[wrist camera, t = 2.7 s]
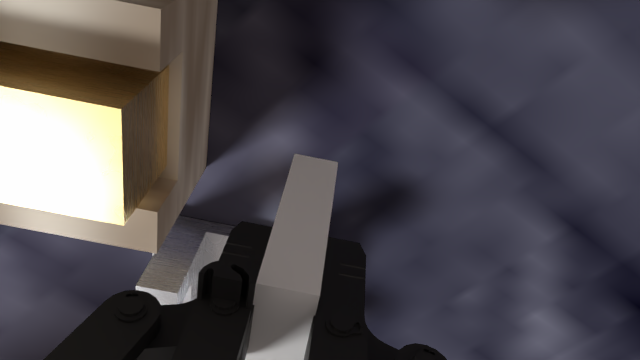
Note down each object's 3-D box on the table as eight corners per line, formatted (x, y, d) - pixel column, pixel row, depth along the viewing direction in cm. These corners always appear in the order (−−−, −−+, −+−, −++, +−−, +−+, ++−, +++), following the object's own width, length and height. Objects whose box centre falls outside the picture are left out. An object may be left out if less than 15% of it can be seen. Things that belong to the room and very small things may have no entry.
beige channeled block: (-90, 110, 28) (-229, 180, 21) (-141, -98, 23) (-343, -90, 16) (206, 167, 28) (156, 253, 22) (219, -27, 23) (161, 9, 17)
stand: (157, 323, 34) (119, 402, 29) (159, 211, 30) (114, 281, 25) (306, 351, 34) (295, 435, 29) (331, 244, 30) (322, 321, 25)
